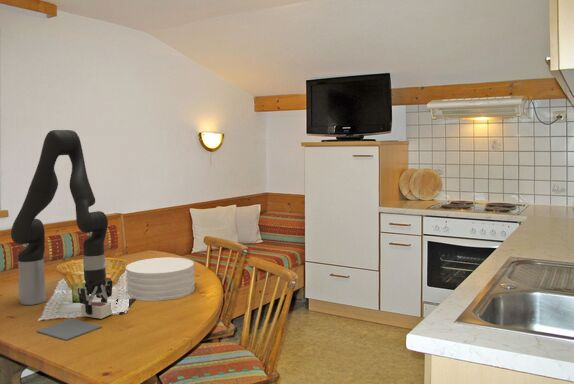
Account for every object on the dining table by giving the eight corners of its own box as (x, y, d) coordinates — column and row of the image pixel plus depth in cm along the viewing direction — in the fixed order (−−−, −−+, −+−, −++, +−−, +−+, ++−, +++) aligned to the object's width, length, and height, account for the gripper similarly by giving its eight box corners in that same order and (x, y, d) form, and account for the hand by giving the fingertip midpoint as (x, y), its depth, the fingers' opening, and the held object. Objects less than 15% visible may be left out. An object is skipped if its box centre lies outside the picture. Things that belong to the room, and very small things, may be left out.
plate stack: (115, 290, 230) (114, 264, 229) (173, 278, 249) (173, 254, 247) (146, 305, 209) (145, 277, 208) (207, 291, 228) (206, 264, 227)
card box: (81, 315, 196) (81, 304, 196) (92, 311, 201) (91, 300, 201) (101, 318, 193) (100, 307, 192) (111, 313, 198) (111, 303, 197)
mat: (36, 331, 182) (36, 330, 182) (71, 319, 193) (71, 318, 193) (66, 340, 173) (66, 339, 173) (101, 327, 185) (101, 326, 185)
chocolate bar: (135, 298, 216) (122, 313, 198) (135, 301, 216) (122, 315, 198) (113, 299, 216) (98, 313, 198) (113, 301, 216) (98, 316, 198)
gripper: (103, 261, 203) (105, 304, 205) (70, 269, 191) (73, 315, 193) (117, 263, 199) (119, 307, 201) (84, 272, 187) (86, 319, 189)
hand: (96, 311), depth 197 cm, fingers closed on card box, 6 cm apart
